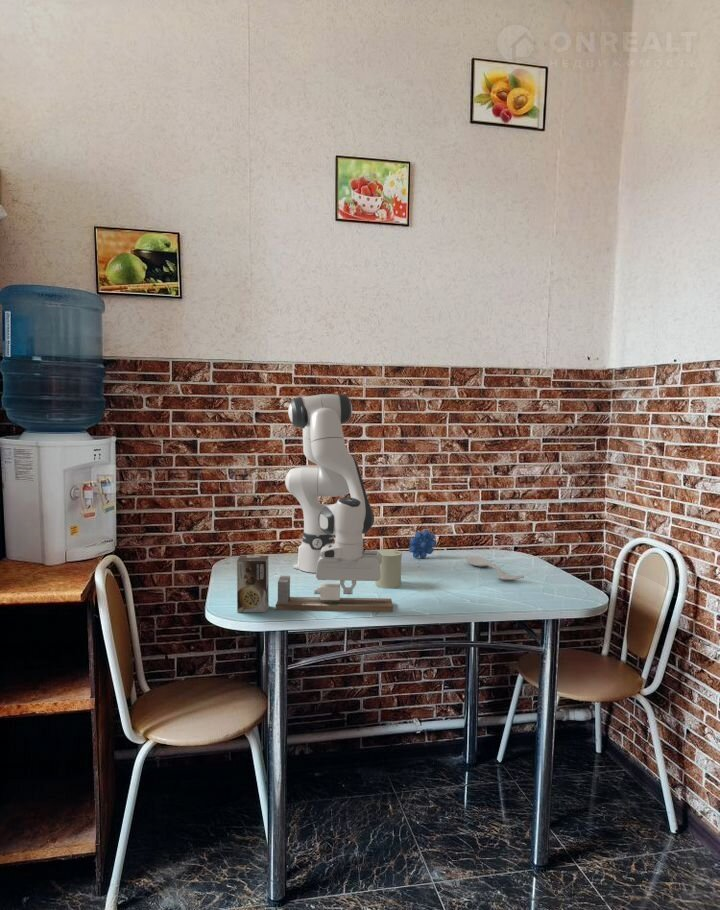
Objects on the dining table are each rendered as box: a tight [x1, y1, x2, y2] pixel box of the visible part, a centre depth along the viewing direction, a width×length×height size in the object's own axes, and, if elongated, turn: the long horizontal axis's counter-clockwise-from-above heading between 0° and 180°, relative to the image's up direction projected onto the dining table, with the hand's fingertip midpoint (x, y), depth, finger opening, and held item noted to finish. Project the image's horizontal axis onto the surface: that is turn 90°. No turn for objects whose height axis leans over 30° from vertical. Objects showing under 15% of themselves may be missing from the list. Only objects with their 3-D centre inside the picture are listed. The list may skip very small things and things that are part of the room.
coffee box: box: [236, 555, 270, 613], centre depth 188 cm, size 9×6×16 cm
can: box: [374, 548, 403, 589], centre depth 216 cm, size 9×9×12 cm
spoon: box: [465, 555, 525, 581], centre depth 235 cm, size 9×32×4 cm, turn 17°
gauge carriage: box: [313, 582, 341, 604], centre depth 191 cm, size 7×8×4 cm
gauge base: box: [275, 575, 394, 613], centre depth 192 cm, size 8×36×8 cm, turn 90°
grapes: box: [408, 529, 437, 559], centre depth 254 cm, size 12×7×12 cm, turn 97°
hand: (347, 593), depth 192 cm, fingers closed
